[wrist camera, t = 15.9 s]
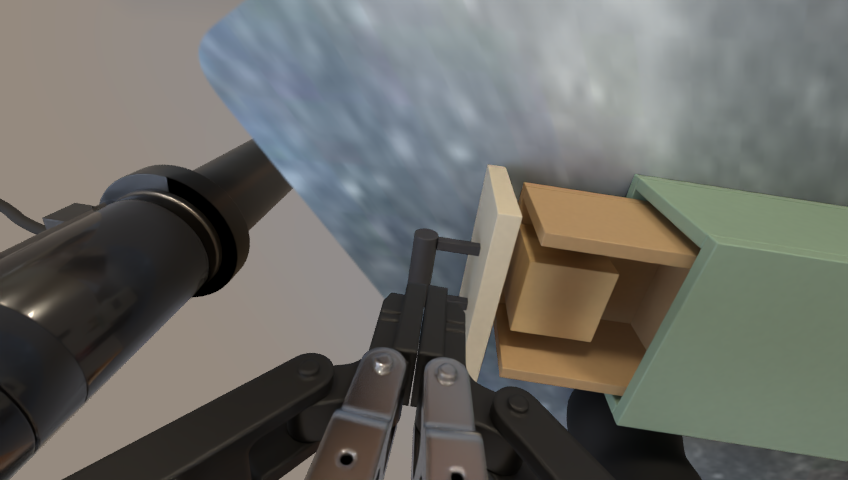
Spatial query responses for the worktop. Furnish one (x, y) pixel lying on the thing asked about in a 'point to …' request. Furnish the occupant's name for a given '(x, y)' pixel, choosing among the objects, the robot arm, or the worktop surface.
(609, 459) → the cola bottle
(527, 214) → the drawer
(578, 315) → the block
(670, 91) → the worktop surface
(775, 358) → the cabinet
